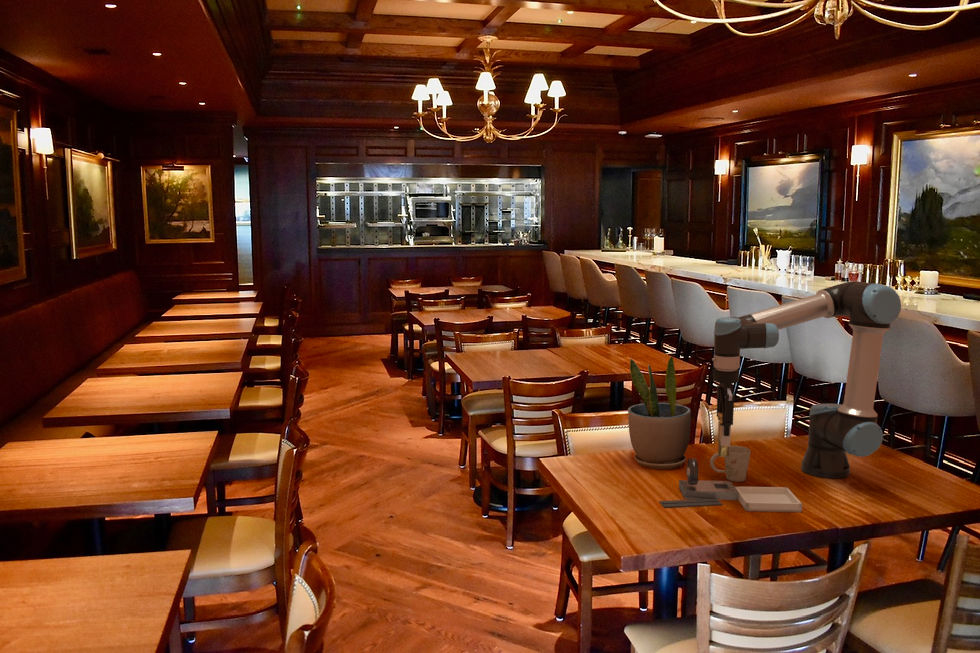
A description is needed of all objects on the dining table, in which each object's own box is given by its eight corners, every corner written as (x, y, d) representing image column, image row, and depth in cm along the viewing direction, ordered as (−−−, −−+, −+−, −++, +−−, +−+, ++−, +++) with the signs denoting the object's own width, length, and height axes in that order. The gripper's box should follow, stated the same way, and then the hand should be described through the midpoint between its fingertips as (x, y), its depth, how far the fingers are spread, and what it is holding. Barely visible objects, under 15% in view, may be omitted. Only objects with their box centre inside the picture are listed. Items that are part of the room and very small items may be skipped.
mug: (750, 483, 255) (752, 453, 254) (710, 481, 258) (711, 451, 256) (747, 475, 263) (749, 446, 262) (708, 473, 266) (709, 444, 264)
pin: (728, 452, 246) (730, 412, 244) (732, 457, 242) (733, 415, 240) (715, 452, 247) (716, 412, 245) (718, 456, 242) (719, 415, 240)
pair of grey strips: (716, 499, 241) (716, 498, 241) (722, 505, 237) (722, 504, 237) (659, 502, 239) (659, 501, 239) (664, 507, 235) (664, 506, 234)
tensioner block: (730, 488, 251) (731, 455, 249) (738, 500, 241) (739, 465, 239) (679, 487, 252) (680, 454, 250) (684, 499, 242) (686, 464, 240)
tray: (786, 495, 245) (787, 487, 245) (801, 512, 231) (802, 503, 231) (734, 494, 246) (734, 486, 245) (745, 511, 232) (746, 502, 232)
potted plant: (614, 462, 278) (616, 349, 272) (652, 450, 291) (655, 342, 286) (663, 477, 262) (666, 357, 256) (701, 463, 276) (705, 350, 270)
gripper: (708, 363, 249) (706, 436, 252) (719, 374, 233) (717, 451, 236) (732, 363, 248) (730, 436, 252) (745, 374, 232) (743, 451, 236)
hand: (723, 443), depth 244 cm, fingers closed on pin, 3 cm apart
